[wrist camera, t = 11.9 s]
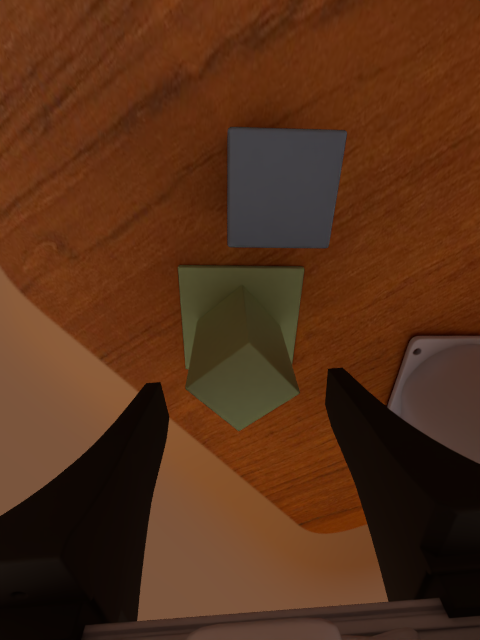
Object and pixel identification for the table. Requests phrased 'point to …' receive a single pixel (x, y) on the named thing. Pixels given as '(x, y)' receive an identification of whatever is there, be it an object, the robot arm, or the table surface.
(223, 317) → the green block
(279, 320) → the green mat
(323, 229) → the blue block
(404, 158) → the table surface
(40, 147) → the table surface
